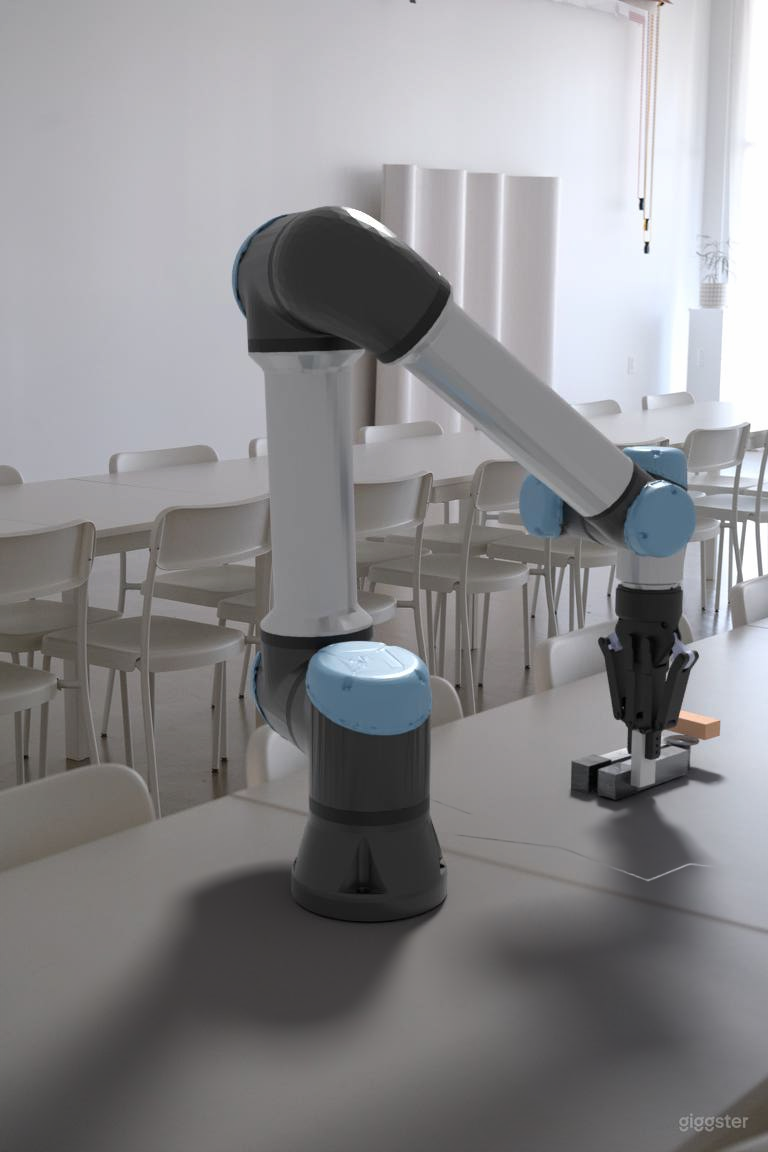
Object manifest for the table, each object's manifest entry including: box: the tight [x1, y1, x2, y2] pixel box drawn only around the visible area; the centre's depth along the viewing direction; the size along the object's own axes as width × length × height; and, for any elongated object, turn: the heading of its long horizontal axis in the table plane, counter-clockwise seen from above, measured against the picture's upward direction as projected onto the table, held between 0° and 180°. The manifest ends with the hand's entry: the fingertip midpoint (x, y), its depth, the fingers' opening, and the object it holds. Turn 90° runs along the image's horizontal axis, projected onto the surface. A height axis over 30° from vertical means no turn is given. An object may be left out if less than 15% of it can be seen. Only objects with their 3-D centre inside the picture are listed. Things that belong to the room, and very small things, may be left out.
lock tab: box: [666, 709, 721, 741], centre depth 173 cm, size 3×6×2 cm, turn 41°
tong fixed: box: [570, 735, 692, 794], centre depth 168 cm, size 18×5×3 cm, turn 131°
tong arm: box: [596, 734, 700, 801], centre depth 166 cm, size 18×5×3 cm, turn 132°
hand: (642, 783), depth 161 cm, fingers closed
